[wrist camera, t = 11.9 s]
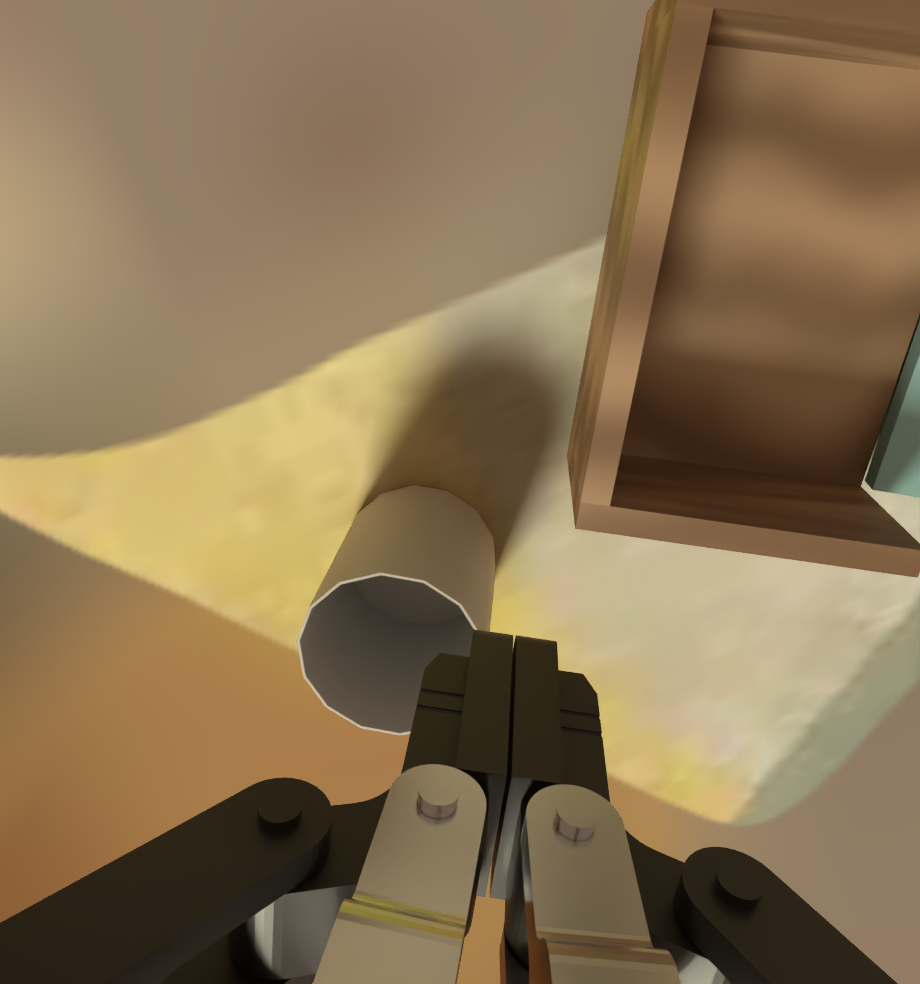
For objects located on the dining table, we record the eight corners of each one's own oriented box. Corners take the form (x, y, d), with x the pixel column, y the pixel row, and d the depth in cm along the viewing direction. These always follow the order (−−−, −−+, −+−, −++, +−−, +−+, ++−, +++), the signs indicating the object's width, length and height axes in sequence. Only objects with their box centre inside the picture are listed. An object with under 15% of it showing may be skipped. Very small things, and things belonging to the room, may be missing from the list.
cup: (472, 469, 42) (454, 555, 32) (513, 601, 44) (508, 714, 35) (325, 507, 43) (268, 598, 34) (374, 632, 46) (334, 748, 37)
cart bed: (647, 12, 33) (684, -41, 25) (984, 52, 32) (1138, 11, 24) (567, 455, 41) (575, 528, 32) (838, 493, 40) (917, 577, 32)
